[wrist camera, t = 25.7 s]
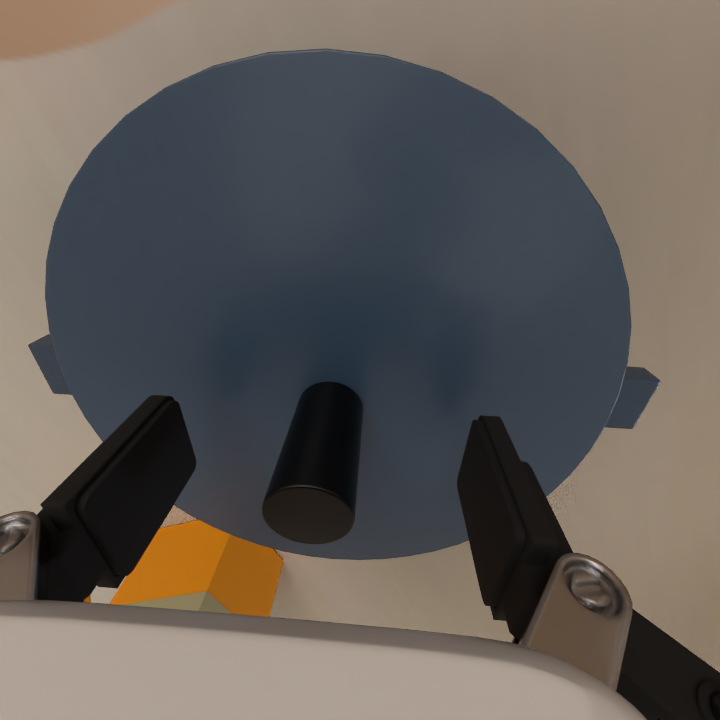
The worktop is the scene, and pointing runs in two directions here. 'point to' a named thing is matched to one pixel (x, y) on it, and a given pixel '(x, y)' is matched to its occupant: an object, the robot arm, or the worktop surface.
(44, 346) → the pot
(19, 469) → the worktop surface
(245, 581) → the orange juice
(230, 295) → the lid
